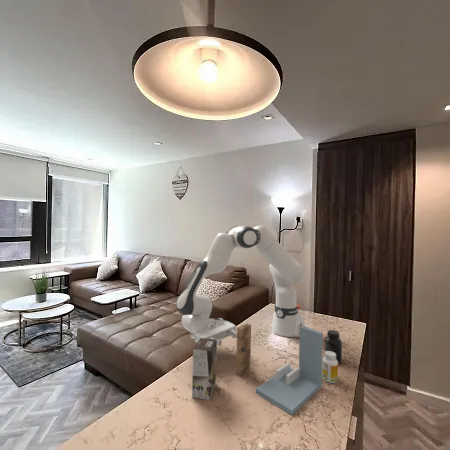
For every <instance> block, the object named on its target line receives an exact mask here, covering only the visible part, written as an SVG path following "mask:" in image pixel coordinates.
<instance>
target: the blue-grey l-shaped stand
mask: <svg viewBox="0 0 450 450" xmlns="http://www.w3.org/2000/svg"><path fill="white" fill-rule="evenodd" d="M323 333H324V332H323V331H319V330H315V329H312V328H310V327H309V328H307V327H304V326H301V327H300V337H299V342H298V343H299V349H298V350H299V351H298V352H299V353H298V354H299V355H298V366H297V367H295V368H294V369H293V368H292V367H291V362H286V363H285V364H283V365H282V366H280V367H279V368H278V369H276V370H275V375H273V376H272V377H270V378H269V379H268V380H265V382H263V383H262V384H260V385H259V386H257V387H256V388H255V394H256V395H258V396H260V397H261V398H263V399H265V401H269V403H270V404H273V405H274V406H276V407H278V408H279V409H281V410H282V411H284V412H286V413H287V414H289V415H290V416H294V414H296V413H297V412H298V411H299V410H300V409H301V407H302V406H304V404H306V403H307V401H309V400H310V399H311V398H312V397H313V396H314V395H315V394H316V393H317V392H319V390H320V389H321V388H323V387H322V386H323V385H322V384H323V383H322V382H323V377H322V366H323V342H324V340H323Z"/></svg>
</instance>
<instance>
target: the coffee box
mask: <svg viewBox="0 0 450 450" xmlns="http://www.w3.org/2000/svg"><path fill="white" fill-rule="evenodd" d="M217 347H218V345H217V339H207V338H206V339H205V338H200V340H199V341H198V343H196V344H195V346H194V347H193V348H192V378H191V379H192V380H191V381H192V383H191V384H192V386H191V397H192V398H195V399H202V400H207V401H208V400H210V399H211V397H212V394H213V393H214V389H215V388H216V384H217V352H218V351H217Z"/></svg>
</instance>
